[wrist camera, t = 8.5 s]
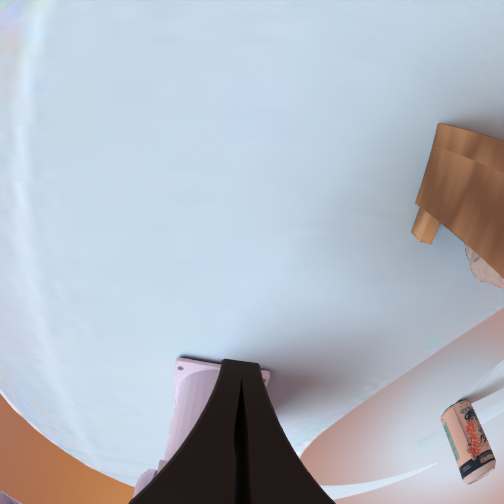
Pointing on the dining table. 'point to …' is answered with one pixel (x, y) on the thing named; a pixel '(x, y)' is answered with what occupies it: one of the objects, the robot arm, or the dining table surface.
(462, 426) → the beer can
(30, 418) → the dining table surface
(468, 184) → the upright wooden block
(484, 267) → the pink clay lump
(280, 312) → the dining table surface
